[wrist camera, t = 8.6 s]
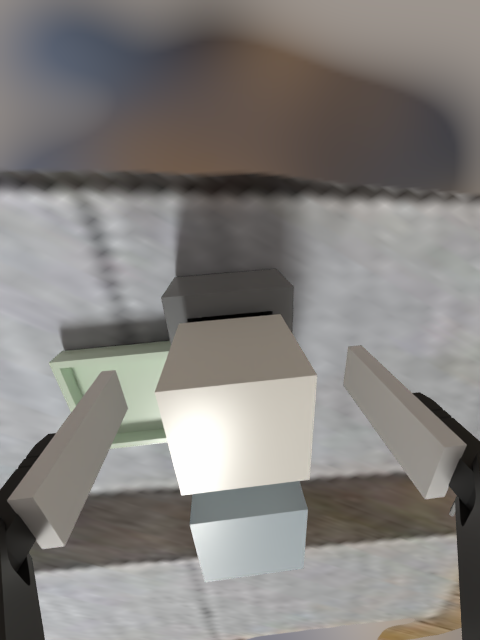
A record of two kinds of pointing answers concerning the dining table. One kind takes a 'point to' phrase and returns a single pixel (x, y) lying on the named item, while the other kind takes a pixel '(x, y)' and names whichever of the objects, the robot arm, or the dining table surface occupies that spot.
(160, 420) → the tray
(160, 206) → the dining table surface
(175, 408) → the plug
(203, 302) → the strip
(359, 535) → the dining table surface
